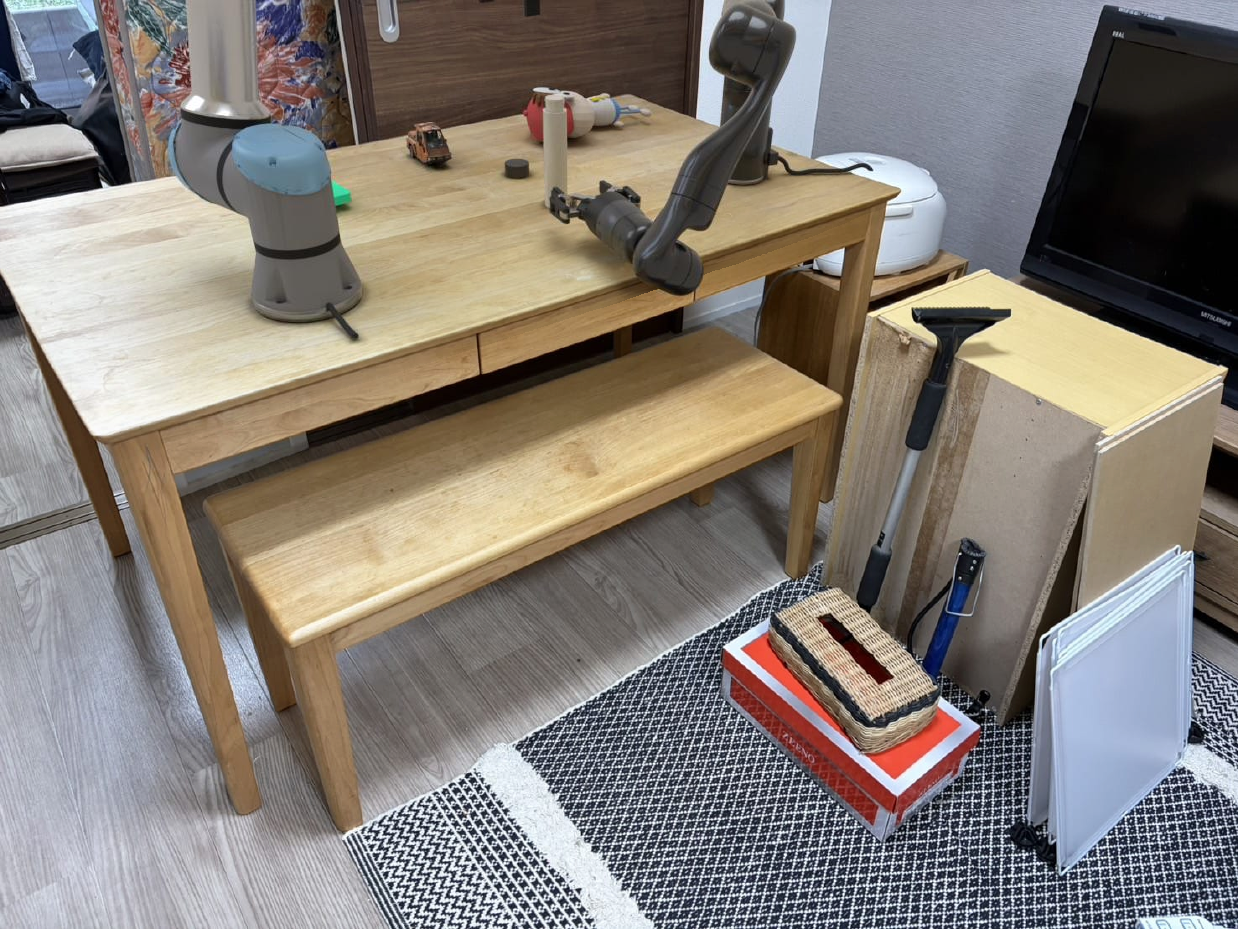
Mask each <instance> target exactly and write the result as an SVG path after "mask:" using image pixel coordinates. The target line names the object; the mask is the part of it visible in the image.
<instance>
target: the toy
mask: <svg viewBox="0 0 1238 929" xmlns="http://www.w3.org/2000/svg"><path fill="white" fill-rule="evenodd" d="M532 91H533V94H532V98H531V100H529V103H528V105H527V108H526V109H524V110H523V112H522V115H523V116H524V117H525V118H526V123H527V126H528V129H529V131H530V133H531V136H532V137H533V139H534V140H535V141H537V142H541V143H544V142H543V109H544V108H545V97H546V96H548V95H561V96H563V97H564V101H565V103H564V108H566V109H567V138H570V139H573V138H579V137H583V136H585V135H586V134H587V133H589V132H590V131H591V130H592V128H593V126H596V127H597V126H598V127H605V126H609V125H612V124H613V126H615V127H618V128H621V127H623V126H624V122H623V121H619V118H620V115H621V114H622V115H626V114H627V115H630V114H640V115H642V116H643V117H647V118H648V117H651V116H652V111H651V110H650V109H648V108H639V106H637V105H634V104H629V105H628V106H623V107H620V105H619V103H617V102H616V100H614V99H612V98H611V95H610V94H609V93H605V92H604V93H601V94H599V95H598V94H597V95H593V96H590V97H587V98H586V95H583V94H580V93H578V92H575V91H570V90H559V89H557V88H554V87H543V86H542V87H534V88H533V89H532Z"/></svg>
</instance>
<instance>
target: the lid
mask: <svg viewBox="0 0 1238 929" xmlns="http://www.w3.org/2000/svg"><path fill="white" fill-rule="evenodd" d="M504 175H505V177H506V178H510V179H517V180H519V179H525V178H527V177H529V176H530V161H529V160H527V159H524V158H510V159H507V160H505V161H504Z"/></svg>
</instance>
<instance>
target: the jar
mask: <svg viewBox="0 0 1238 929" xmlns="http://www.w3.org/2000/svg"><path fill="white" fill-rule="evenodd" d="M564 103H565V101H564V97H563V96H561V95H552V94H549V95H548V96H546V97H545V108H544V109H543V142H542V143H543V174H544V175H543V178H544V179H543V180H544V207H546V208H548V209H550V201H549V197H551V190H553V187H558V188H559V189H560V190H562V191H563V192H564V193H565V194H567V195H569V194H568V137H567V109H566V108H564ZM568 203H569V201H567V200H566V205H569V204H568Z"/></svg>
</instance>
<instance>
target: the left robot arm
mask: <svg viewBox="0 0 1238 929" xmlns="http://www.w3.org/2000/svg"><path fill="white" fill-rule="evenodd" d="M478 2H479V4H483V3H493V2H495V0H478ZM185 7H186V23H187V39H188V57H189V68H190V69H189V70H190V71H189V72H190V85H191V86H190V90H191V91H190V94H189V95H188V96H186V98H184V99H183V101H182V102H181V103H180V107H179V108H180V119H179V120H178V122H177V123H176V126H175V128H172V130H171V131H170V135H169V138H168V143H167V154H168V161H169V163H170V166H171V170H172V171H173V173H174V175H175V176H176V178H177V179H178V181H179V182H180V183H181V184H182V185H183V186H184V187H185V188H186V189H187V190H188V191H190V192H192V193H193V194H195V195H197V196H198V197H199V199H202V200H204V201H205V202H208V203H210V204H213V205H217V206H220V207H222V208H224V209H227V210H229V211H231V212H233V213H236V214H238V215H240V216H243V217H245V218H247V221H248V224H249V228H250V234H251V237H252V238H251V239H252V242H253V247H254V251H255V258H254V264H253V273H252V283H251V291H250V292H251V299H252V303H253V307H254V309H255V310H256V311H257V313H259V314H260V315H262V316H264V317H266V318H268V319H271V320H275V321H281V322H289V323H304V322H314V321H315V322H316V321H320V320H326V319H330V318H332V317H334V319H335V320H336V321H337V322H338V324H339V325H340V326H341V328H342V329H343V330H344V331H345V333H346V334H348V336H349V337H351V338H352V339H353V340H357V339H359V336H360V334H359V333H358V332H356V331H355V329H353V328H352V327H351V326H350V324H349V323H348V322H347V321H346V319H345V318H344V316H342V314H343V313H345V312H348V311H349V310H351V309H353V308H354V307H355V306H356V305H357V304H358V303H359V302H360V301H361V298H362V297H363V287H362V282H361V278H360V276H359V274H358V272H357V270H356V268H355V266H354V264H353V263H352V261H351V259H350V257H349V255H348V253H347V251H346V250H345V248H344V245H343V243H342V239H341V233H340V225H339V220H338V213H337V207H336V206H335V200H334V194H333V188H332V181H333V180H332V168H331V165H330V162H329V157H328V154H327V152H326V148H325V145H324V144H323V142H322V140H321V139H320V138H319V137H318V136H317V135H316V134H314V133H313V132H311V131H309V130H307V129H305V128H303V127H300V126H296V125H292V124H288V125H282V124H281V123H272V113H271V111H270V109H268V107H267V106H266V105H265V104H264V103H263V102H262V101H261V99H260V90H259V60H258V59H259V58H258V57H259V56H258V29H257V28H258V26H257V22H258V21H257V0H185ZM523 7H524V8H523V9H524V17H527V18H528V17H529V18H530V17H535V16H540V15H541V0H523Z"/></svg>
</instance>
